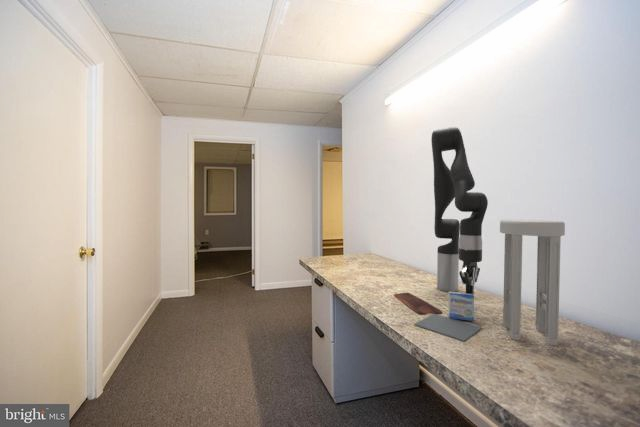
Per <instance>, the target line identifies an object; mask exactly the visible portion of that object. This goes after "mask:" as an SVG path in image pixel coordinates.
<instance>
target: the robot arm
mask: <svg viewBox="0 0 640 427" xmlns="http://www.w3.org/2000/svg"><path fill="white" fill-rule="evenodd" d="M430 141H431V151H432V161H433V194H434V195H433V196H434V235H435V237H436V238H437V239H451V241H449V242H448V243H446V244H442V245H439V246H438V247H437V261H436V262H437V263H436V264H437V265H436V266H437V267H436V268H437V269H436V270H437V271H436V272H437V274H436V277H437V278H436V288H437V290H439V291H442V292H448V293H449V292H458V291H459V278H460V279H461V282H462V284H463V285H465V293H468V294H473V295H474V293H475V292H474V291H475V290H474V289H475V287H474V286H475V283H477V282H478V278H479V274H480V271H481V268H480V267H478V263H481V262H482V261H483V238H482V233H483V230H482V228H483V222H484V218H485V215H486V212H487V209H488V204H489V202H488V201H489V200H488V198H487V196H486V194H485V193H483V192H478V191H477V192H473V191H472V192H468V191H471V190H472V189H474V188H475V185H476V183H475V179H474V177H473V173H472V172H471V169H470V167H469V163H468V158H467V154H466V148H465V144H464V139H463V135H462V132H461V130H460V128H458V127H456V126H451V127H446V128H445V127H444V128H439V129H435V130H433V131H432V132H431V140H430ZM453 150H454V152H455V155H454V159H453V161H452V164H451V167H450V168H449V167H448V166H447V164H446V162H445V161H444V158H443V152H447V151H453ZM453 201H454V206H455V208H456V209H457V210H458V211H460V212H462V213H464V212H465V213H470V212H471V214H470V216H469V217H466V218H463V219H461V220H460V221H459V219H456V218H454V219H453V218H443V216H444V214H445V211H446V210H447V208H448V207H449V206H450V204H451V203H452V202H453ZM460 261H461V262H462V263H463V264H462V267H461V271H459V270H460V269H459V268H460V267H459V266H460V264H459V262H460Z"/></svg>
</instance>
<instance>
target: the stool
mask: <svg viewBox="0 0 640 427" xmlns="http://www.w3.org/2000/svg"><path fill="white" fill-rule="evenodd" d="M565 230H566V223H565V222H564V221H561V220H560V221H559V220H548V219H547V220H546V219H502V220H500V221H499V233H501V234H504V258H503V260H504V261H503V262H504V265H503V267H504V269H503V306H502V307H503V308H502V311H503V315H502V316H503V317H502V320H503V321H502V322H503V323H502V324H503V327H504V328H507V329H509V338H510V340H514V341H515V340H517V341H521V328H522V327H521V326H522V325H521V321H522V318H521V316H522V280H523V279H522V278H523V277H522V274H523V236H526V237H527V236H529V237H530V236H531V237H537V248H536V249H537V252H536V254H537V257H536V258H537V259H536V293H535V294H536V302H535V330H536V332H538V333H545V342H546V343H547V345H549V346H550V345H551V346H559V326H560V325H559V317H560V315H559V314H560V281H561V280H560V279H561V278H560V277H561V276H560V274H561V272H560V271H561V237H562V236H565V233H566V231H565Z"/></svg>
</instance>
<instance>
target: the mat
mask: <svg viewBox="0 0 640 427" xmlns="http://www.w3.org/2000/svg"><path fill="white" fill-rule="evenodd" d="M414 326H415V327H419V328H422V329H425V330H427V331H431V332H434V333H436V334H440V335H442V336H445V337H448V338H451V339H455V340H458V341H460V342H463V343H464V342H467V340H468V339H470V338H471V337H473V336H474V335H475V334H477V333H478V332H480V331H481V330H482V329H483V327H482V326H478V325H476V324H472V323H468V322H466V321H465V322H464V321H463V320H460V319H452V318H449V316H448V317H447V316H443V315H441V314H430V315H429V316H427V317H426V318H423V319H422V320H419V321H417V322H415V323H414Z"/></svg>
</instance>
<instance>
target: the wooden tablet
mask: <svg viewBox="0 0 640 427" xmlns="http://www.w3.org/2000/svg"><path fill="white" fill-rule="evenodd" d="M393 296H394V298H396V299H397V300H398V301H400V302H401V303H403V305H405V306H407V307H408V308H409V309H411V310H412V311H413V312H414V313H416V314H418V315H420V316H425V315H433V314H438V315H441V314H443V311H442V310H441V309H439V308H438V307H436V306H434V305H432V304H431V303H429V302H427V301H426V300H424V299H421V298H419V297H418V296H416V295H414V294H413V293H410V292H401V293H395V294H393Z"/></svg>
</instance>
